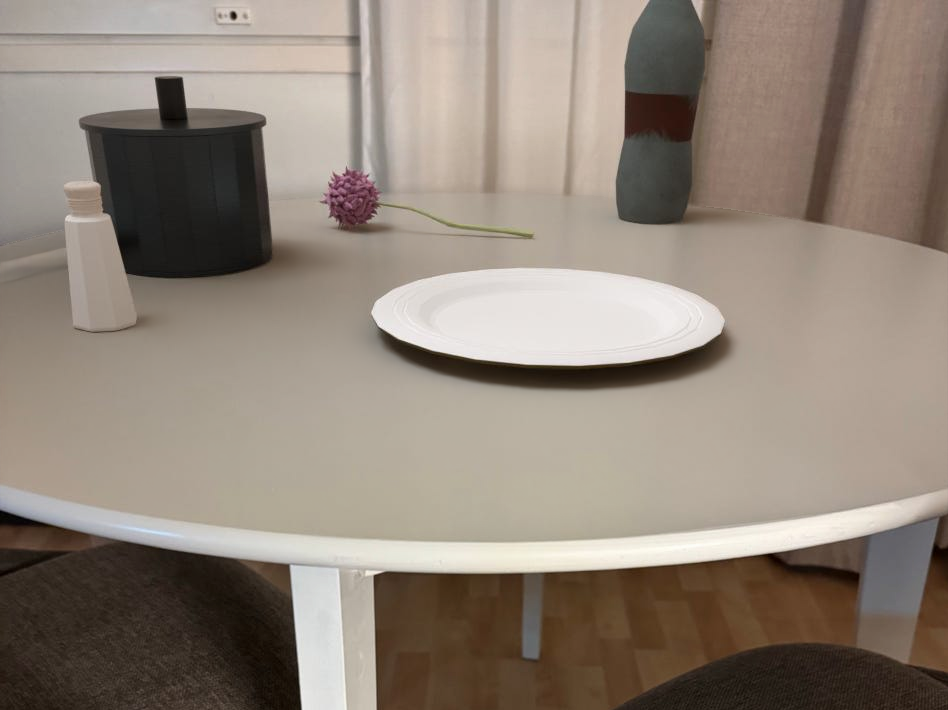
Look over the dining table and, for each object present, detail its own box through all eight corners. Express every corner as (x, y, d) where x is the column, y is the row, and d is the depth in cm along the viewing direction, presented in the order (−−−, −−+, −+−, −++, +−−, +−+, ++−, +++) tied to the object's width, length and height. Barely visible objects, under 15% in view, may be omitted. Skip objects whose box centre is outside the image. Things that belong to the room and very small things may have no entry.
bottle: (654, 228, 126) (684, -78, 110) (597, 216, 131) (617, -76, 115) (703, 218, 131) (738, -75, 115) (646, 207, 137) (671, -73, 121)
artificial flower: (533, 254, 125) (328, 211, 127) (543, 194, 121) (330, 151, 122) (524, 277, 120) (311, 232, 122) (534, 216, 116) (312, 170, 117)
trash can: (72, 264, 107) (47, 127, 100) (185, 234, 119) (169, 111, 113) (199, 285, 100) (181, 141, 94) (305, 252, 113) (295, 122, 106)
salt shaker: (122, 334, 87) (97, 190, 81) (60, 330, 88) (31, 187, 82) (149, 316, 91) (128, 178, 86) (90, 312, 92) (65, 176, 86)
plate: (620, 277, 105) (621, 257, 104) (795, 365, 82) (799, 340, 81) (332, 301, 96) (331, 280, 95) (439, 407, 73) (439, 381, 72)
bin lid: (40, 134, 101) (29, 78, 98) (169, 116, 114) (163, 67, 111) (183, 149, 94) (175, 89, 91) (303, 128, 107) (299, 75, 104)
